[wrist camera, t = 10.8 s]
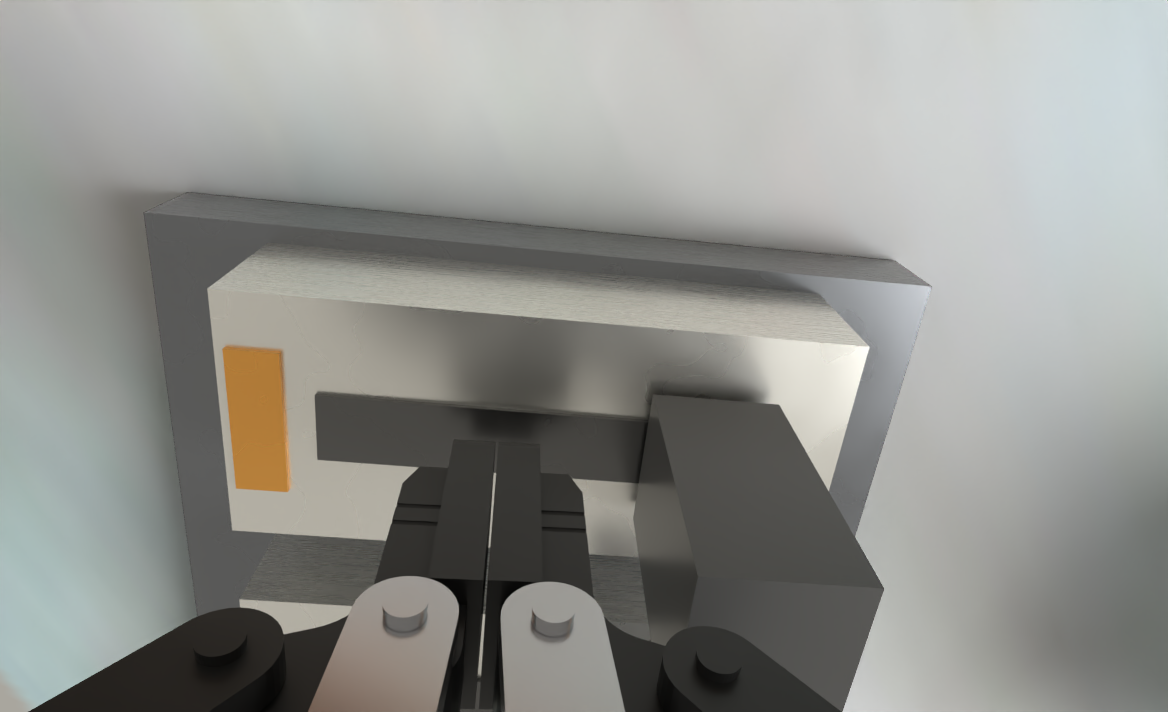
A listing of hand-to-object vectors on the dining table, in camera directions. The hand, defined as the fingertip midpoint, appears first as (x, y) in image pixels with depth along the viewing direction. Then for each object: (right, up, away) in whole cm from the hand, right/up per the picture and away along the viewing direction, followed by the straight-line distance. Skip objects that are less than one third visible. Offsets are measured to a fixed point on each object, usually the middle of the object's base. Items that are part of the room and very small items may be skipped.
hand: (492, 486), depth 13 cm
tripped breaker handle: (+4, 0, +2) cm, 4 cm away
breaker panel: (0, -4, +9) cm, 10 cm away
